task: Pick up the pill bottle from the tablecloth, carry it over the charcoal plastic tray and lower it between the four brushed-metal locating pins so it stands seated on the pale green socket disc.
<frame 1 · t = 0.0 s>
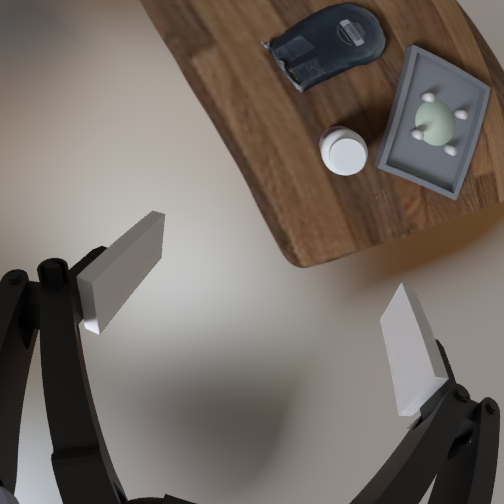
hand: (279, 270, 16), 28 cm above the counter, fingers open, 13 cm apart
electronic device: (329, 45, 32), on the counter
pill bottle: (338, 144, 38), on the counter
tray: (433, 122, 33), on the counter
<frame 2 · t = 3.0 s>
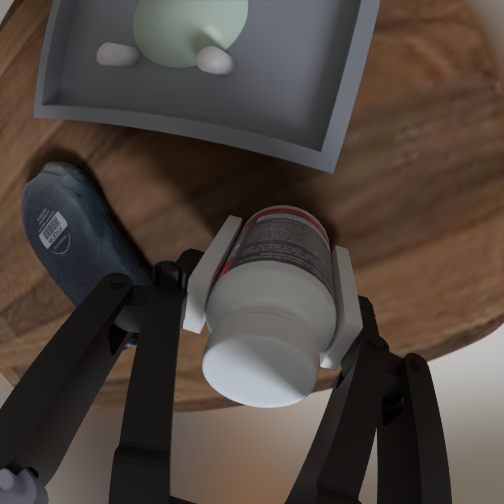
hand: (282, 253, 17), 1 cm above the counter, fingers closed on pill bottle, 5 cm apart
electronic device: (97, 246, 21), on the counter
pill bottle: (284, 244, 18), on the counter, touching gripper
tray: (193, 17, 12), on the counter
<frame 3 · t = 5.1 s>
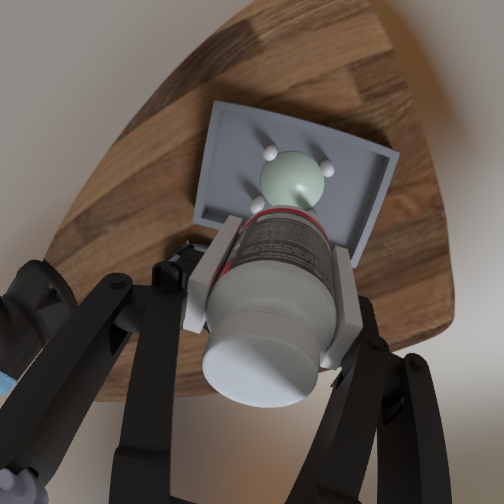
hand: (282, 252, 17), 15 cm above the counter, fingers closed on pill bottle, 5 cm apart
pill bottle: (284, 244, 18), point 14 cm above the counter, touching gripper
tray: (292, 180, 31), on the counter
when the fingers open (4 cm above the counter, at t = 7.1 s): pill bottle drops 2 cm, resting on tray.
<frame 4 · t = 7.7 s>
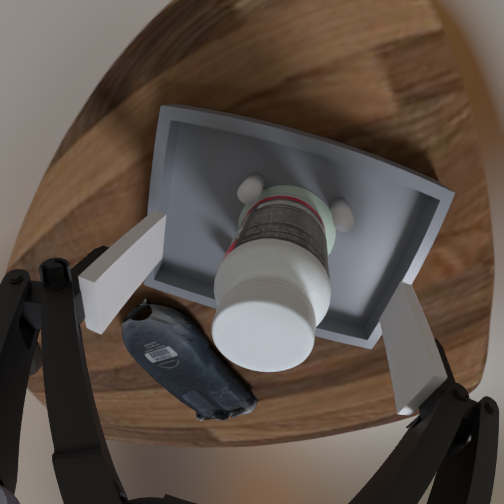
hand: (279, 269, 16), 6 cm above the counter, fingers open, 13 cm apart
electronic device: (189, 354, 29), on the counter
pill bottle: (283, 230, 20), point 1 cm above the counter, touching tray
tray: (287, 226, 21), on the counter
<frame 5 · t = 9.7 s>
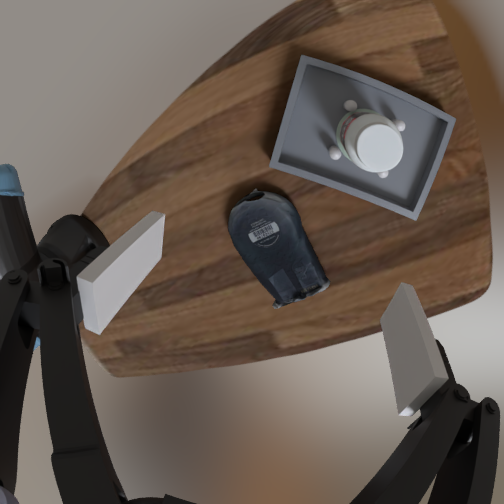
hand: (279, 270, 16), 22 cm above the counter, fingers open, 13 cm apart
electronic device: (277, 242, 40), on the counter
pill bottle: (362, 135, 30), point 1 cm above the counter, touching tray
tray: (363, 135, 31), on the counter
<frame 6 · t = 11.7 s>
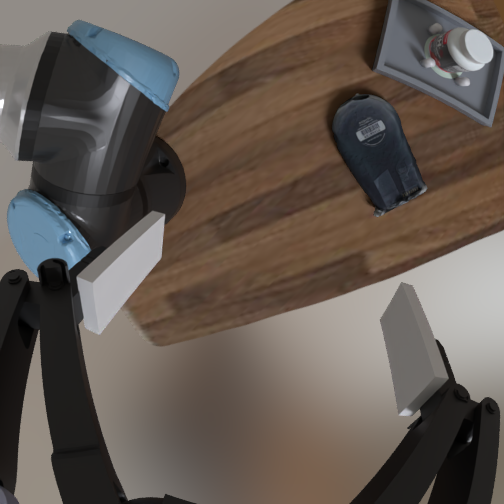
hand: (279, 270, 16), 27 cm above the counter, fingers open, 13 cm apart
electronic device: (375, 148, 36), on the counter
pill bottle: (443, 54, 27), point 1 cm above the counter, touching tray
tray: (442, 56, 27), on the counter
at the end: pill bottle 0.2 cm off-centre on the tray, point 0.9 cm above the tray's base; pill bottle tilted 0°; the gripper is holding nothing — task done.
